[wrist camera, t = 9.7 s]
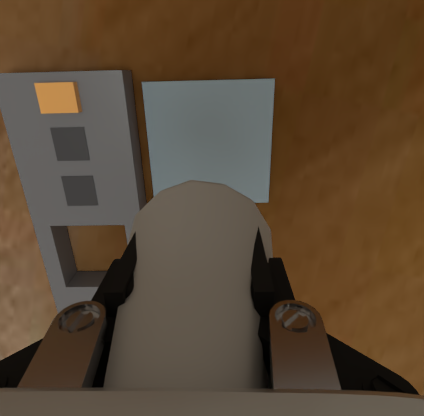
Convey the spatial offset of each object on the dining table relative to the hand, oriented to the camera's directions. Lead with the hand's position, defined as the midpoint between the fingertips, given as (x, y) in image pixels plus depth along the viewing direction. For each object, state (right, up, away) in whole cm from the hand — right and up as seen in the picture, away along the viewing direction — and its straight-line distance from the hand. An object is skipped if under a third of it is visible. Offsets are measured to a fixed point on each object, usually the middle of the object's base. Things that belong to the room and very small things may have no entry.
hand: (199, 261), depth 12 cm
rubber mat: (0, +8, +19) cm, 21 cm away
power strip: (-12, +3, +22) cm, 25 cm away
